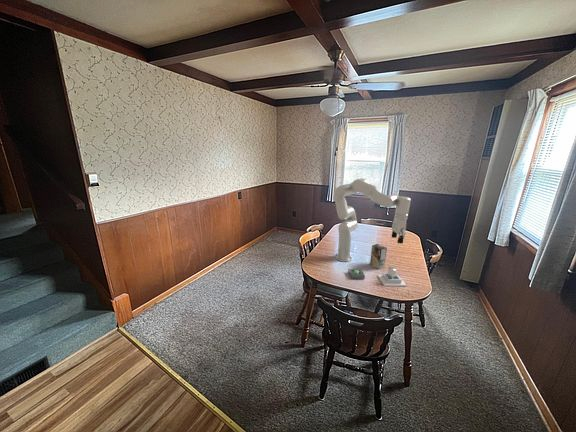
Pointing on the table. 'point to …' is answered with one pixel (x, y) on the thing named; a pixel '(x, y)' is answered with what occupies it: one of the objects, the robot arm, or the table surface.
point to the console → (356, 276)
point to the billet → (392, 273)
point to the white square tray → (391, 280)
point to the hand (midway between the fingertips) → (396, 240)
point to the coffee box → (378, 256)
